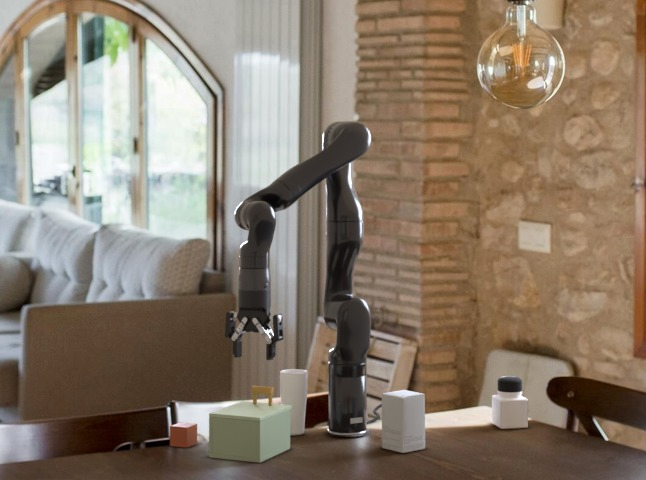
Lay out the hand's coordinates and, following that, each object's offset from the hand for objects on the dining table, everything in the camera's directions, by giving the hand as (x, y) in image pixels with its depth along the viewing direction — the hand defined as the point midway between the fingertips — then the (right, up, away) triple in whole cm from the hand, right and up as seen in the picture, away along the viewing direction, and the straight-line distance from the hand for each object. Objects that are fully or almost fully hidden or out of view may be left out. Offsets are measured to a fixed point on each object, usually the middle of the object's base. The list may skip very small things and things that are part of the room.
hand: (253, 358), depth 294 cm
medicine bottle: (+62, -21, +24) cm, 70 cm away
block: (-16, -21, +3) cm, 27 cm away
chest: (0, -20, -5) cm, 21 cm away
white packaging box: (+34, -21, -1) cm, 40 cm away
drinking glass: (+8, -21, +15) cm, 27 cm away
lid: (0, -11, -4) cm, 12 cm away
